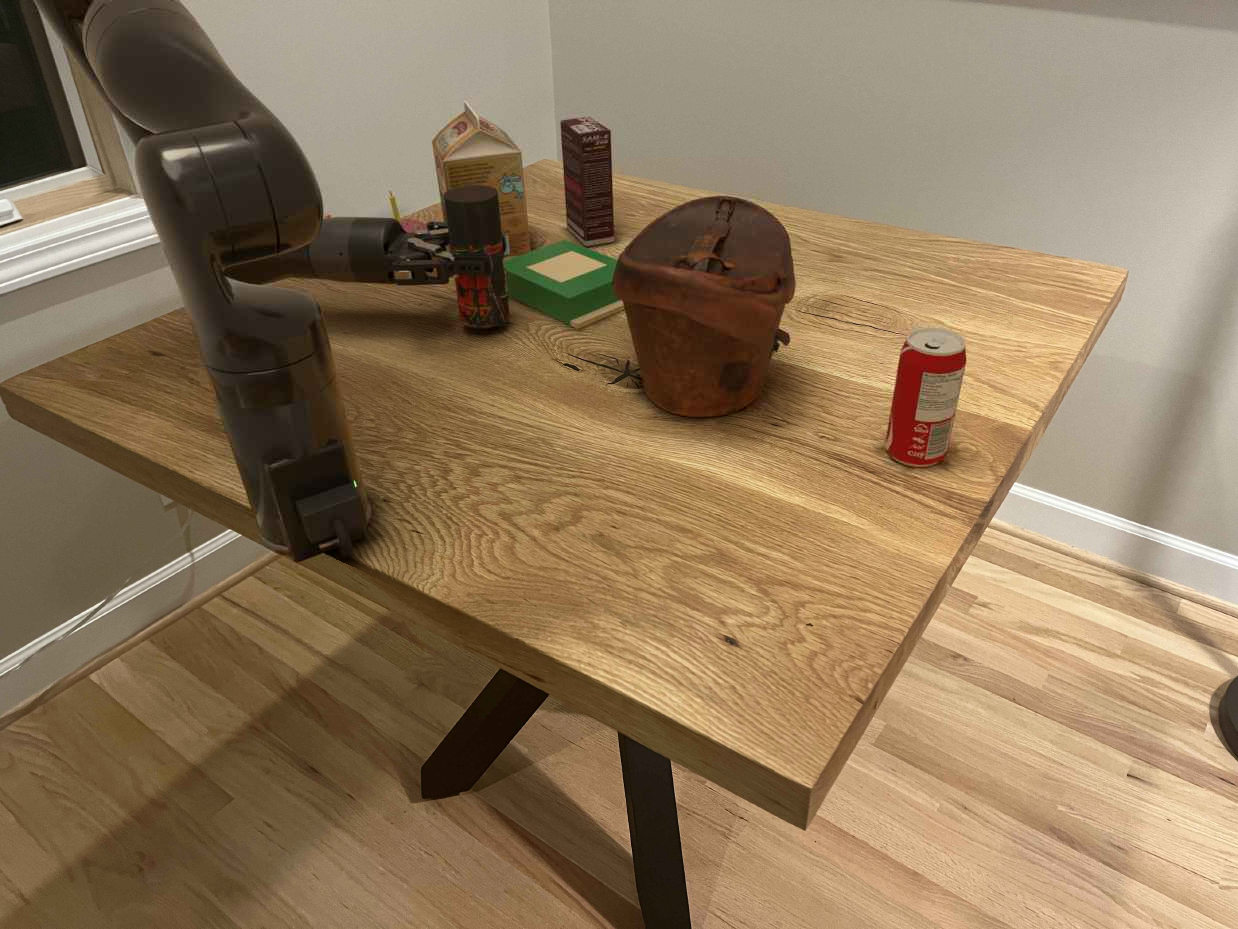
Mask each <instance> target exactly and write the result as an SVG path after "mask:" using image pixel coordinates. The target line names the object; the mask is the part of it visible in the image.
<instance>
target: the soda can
mask: <svg viewBox="0 0 1238 929" xmlns="http://www.w3.org/2000/svg"><path fill="white" fill-rule="evenodd" d="M966 348H967V343H966V339H965V338H964V337H963V336H962V335H961V334H959V333H958V332H956V331H953V330H952V329H947V328H944V327H938V326H937V327H935V326H926V327H920V328H915V329H913V330H911V331H910V332H908V333H907V334H906V337H905V340H904V343H903V345H902V347H901V349H900V352H899V358H898V363H897V369H896V376H895V382H894V387H893V394H892V400H891V406H890V412H889V419H888V425H887V431H886V436H885V443H884V446H885V450H886V452H887V453H888V454H889V455H890V456H891V458H892V459H893V460H894V461H896V462H898V463H900V464H902V465H905V466H909V467H914V468H925V467H926V468H928V467H931V466H933V465H937V464H938V463H939V462H941V461H943V460H944V458H946V456H947V455H948V450H949V446H950V442H951V437H952V432H953V426H954V422H955V417H956V412H957V409H958V408H957V407H958V402H959V399H960V394H961V388H962V384H963V380H964V375H965V370H966V365H967V350H966Z"/></svg>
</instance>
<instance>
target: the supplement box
mask: <svg viewBox="0 0 1238 929" xmlns="http://www.w3.org/2000/svg"><path fill="white" fill-rule="evenodd" d="M559 124H560V136H561V137H560V138H561V139H560V140H561V152H562V154H561V155H562V169H563V182H564V186H563V187H564V199H565V200H564V201H565V215H566V229H567V231H569V232H570V234H572V235H573V236H574V237H575V238H576V239H577V240H578V241H579V242H580V243H581V244H582V245H583V246H584V247H593V246H600V245H606V244H611V243H614V242H615V223H614V222H615V221H614V219H615V218H614V217H615V216H614V192H613V188H614V186H613V159H612V158H613V156H612V155H613V154H612V131H611V129H609V128H608V127H606V126H605V125H603V124H601V123H600V122H598V121H597V120H595V119H593V118H592V117H590V116H585V117H577V118H576V117H575V118H568V119H561V120H560V123H559Z"/></svg>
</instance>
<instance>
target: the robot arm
mask: <svg viewBox="0 0 1238 929" xmlns="http://www.w3.org/2000/svg"><path fill="white" fill-rule="evenodd" d="M32 1H33V2H34V4H35V5H36V7H37V8H38V10H39V12H40V13H41V15H42V16H43V17H44V19H45V20H46V22H47V23H48V24H49V26H50V28H51V29H52V31H53V32H54V34H55V36H56V37H57V39H59V41H60V42H61V44H62V46H63V47H64V48H65V50H66V51H67V52H68V55H69V56H70V57H71V58H72V60H73V61H74V62H75V65H76V66H77V67H78V68H79V70H80V71H81V73H82V74H83V76H84V77H85V78H86V80H87V81H88V83H89V84H90V86H91V87H92V88H93V89H94V91H95V92H96V94H97V95H98V96H99V98H100V99H101V100H102V102H103V103H104V104H105V106H106V107H107V109H109V111H110V113H111V114H112V115H113V116H114V118H115V119H116V121H117V122H118V123H119V125H120V126H121V128H122V129H123V131H124V132H125V134H126V135H127V137H128V138H129V140H130V142H131V143H132V145H133V146H134V148H135V151H134V168H135V175H136V178H137V182H138V186H139V190H140V192H141V197H142V199H143V202H144V204H145V207H146V210H147V212H148V215H149V218H150V221H151V222H152V225H153V228H154V230H155V233H156V235H157V237H158V240H159V242H160V244H161V247H162V249H163V252H164V254H165V258H166V260H167V262H168V265H169V268H170V270H171V273H172V275H173V277H174V280H175V283H176V285H177V287H178V290H179V294H180V297H181V300H182V302H183V305H184V308H185V311H186V315H187V318H188V320H189V324H190V327H191V330H192V333H193V336H194V339H195V343H196V346H197V349H198V352H199V355H200V358H201V360H202V364H203V367H204V370H205V373H206V376H207V379H208V382H209V385H210V389H211V391H212V394H213V398H214V400H215V404H216V408H217V410H218V413H219V417H220V419H221V422H222V425H223V428H224V431H225V434H226V437H227V440H228V443H229V446H230V449H231V452H232V455H233V459H234V461H235V464H236V467H237V470H238V472H239V473H238V474H239V476H240V479H241V482H242V485H243V488H244V491H245V494H246V497H247V501H248V503H249V506H250V508H251V512H252V515H253V517H254V518H253V519H254V521H255V525H256V531H257V533H258V537H259V539H260V541H261V543H262V545H263V546H264V547H265V548H266V549H268V550H269V551H271V552H273V553H275V554H278V555H281V556H287V557H291V558H292V560H293V562H294V563H301V562H304V561H306V560H309V559H312V558H314V557H317V556H319V555H322V554H325V553H328V552H331V551H333V550H335V549H338V548H340V550H339V553H340V555H341V556H342V557H343V558H348V557H349V556H351V554H352V550H353V544H352V543H354V542H357V541H360V540H362V539H364V538H366V537H368V531H367V526H368V524H369V522H370V520H371V516H372V508H371V505H370V500H369V497H368V495H367V493H366V489H365V484H364V480H363V476H362V472H361V468H360V463H359V460H358V455H357V451H356V447H355V443H354V440H353V435H352V434H353V433H352V429H351V427H350V426H351V425H350V422H349V418H348V414H347V410H346V404H345V401H344V397H343V393H342V389H341V388H342V387H341V384H340V380H339V376H338V372H337V368H336V362H335V358H334V353H333V351H332V347H331V342H330V338H329V334H328V329H327V325H326V321H325V317H324V313H323V310H322V308H321V306H320V304H319V303H318V301H317V300H316V299H315V298H314V297H313V296H311V295H309V294H308V293H306V292H304V291H302V290H298V289H295V288H289V287H285V286H273V285H268V284H272V283H276V282H280V281H284V280H288V279H299V280H325V281H332V282H337V283H349V284H378V285H379V284H381V285H382V284H383V285H396V286H399V287H400V286H433V285H436V286H437V285H448V284H449V283H450V278H451V279H455V278H457V277H459V274H460V275H476V276H490V275H491V274H492V272H493V263H492V257H491V256H489V255H474V254H473V255H470V254H459V255H458V258H457V255H456V254H453V253H451V247H450V240H449V232H448V225H447V223H446V222H444V221H434V220H432V221H431V220H430V221H428V222H426V224H427V229H423V230H417V231H415V232H410V233H407V232H406V231H405V230H404V229H403V228H402V225H401V224H400V223H399V221H398V220H396V219H395V217H375V216H374V217H372V216H370V217H369V216H331V217H330V218H325V217H324V216H325V215H324V201H323V195H322V191H321V189H320V185H319V183H318V180H317V177H316V174H315V171H314V170H313V167H312V165H311V163H310V161H309V159H308V158H307V156H306V154H305V152H304V151H303V149H302V147H301V145H300V144H299V143H298V141H297V140H296V138H295V137H294V135H293V134H292V133H291V131H290V130H289V129H288V128H287V127H286V125H285V124H284V123H283V122H282V121H281V120H280V119H279V117H278V116H276V115H275V114H274V112H273V111H271V109H270V108H269V107H267V105H265V104H264V103H263V102H262V101H261V100H260V99H259V98H258V97H257V96H256V95H255V94H254V93H253V92H252V91H251V90H250V89H249V88H248V87H247V86H245V84H244V83H243V82H242V81H241V80H240V79H239V78H238V76H236V74H235V73H234V72H233V71H232V69H231V68H230V67H229V65H228V64H227V62H226V61H225V60H224V58H223V56H222V55H221V54H220V52H219V50H218V49H217V47H216V46H215V44H214V42H213V41H212V39H211V38H210V37H209V35H208V34H207V33H206V32H205V30H204V29H203V27H202V26H201V24H200V23H199V22H198V20H197V19H196V17H195V16H194V15H193V14H192V13H191V12H190V11H189V9H187V8H186V6H185V5H184V4H183V3H182V1H181V0H32ZM502 240H503V251H504V253H505V251H506V249H507V246H506V237H505V235H503V234H502ZM447 246H448V250H447Z"/></svg>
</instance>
